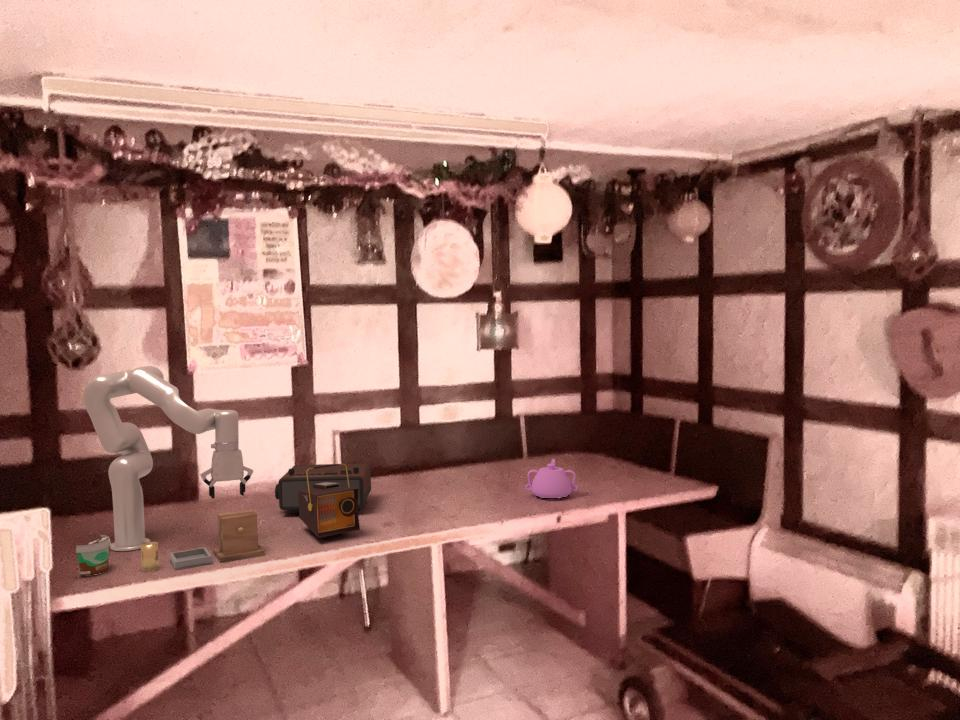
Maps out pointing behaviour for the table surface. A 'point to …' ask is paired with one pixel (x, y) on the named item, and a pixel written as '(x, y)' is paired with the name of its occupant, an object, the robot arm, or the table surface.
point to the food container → (94, 556)
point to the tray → (190, 558)
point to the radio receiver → (335, 474)
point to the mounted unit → (237, 536)
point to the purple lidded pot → (551, 482)
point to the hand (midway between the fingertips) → (227, 496)
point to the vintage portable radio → (329, 507)
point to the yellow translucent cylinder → (149, 556)
